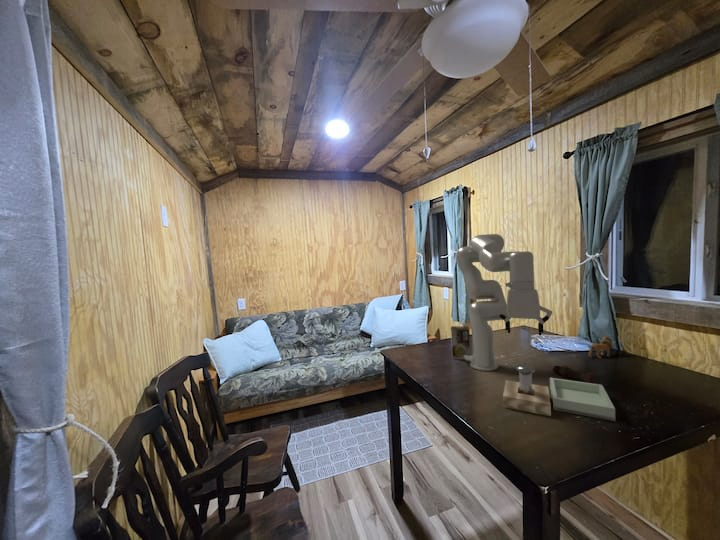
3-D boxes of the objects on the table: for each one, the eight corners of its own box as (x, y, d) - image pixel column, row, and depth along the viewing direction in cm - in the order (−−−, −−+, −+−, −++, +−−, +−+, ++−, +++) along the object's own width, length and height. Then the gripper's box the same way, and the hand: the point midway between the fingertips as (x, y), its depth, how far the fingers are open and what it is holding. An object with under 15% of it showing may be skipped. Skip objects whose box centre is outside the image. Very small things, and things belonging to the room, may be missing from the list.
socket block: (503, 407, 99) (503, 396, 99) (506, 390, 111) (505, 380, 111) (551, 416, 92) (550, 404, 92) (548, 397, 104) (548, 386, 104)
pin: (516, 404, 101) (515, 368, 100) (517, 396, 106) (515, 362, 105) (536, 407, 98) (535, 371, 97) (536, 399, 103) (534, 365, 102)
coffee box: (470, 355, 150) (468, 326, 150) (470, 360, 144) (469, 329, 144) (452, 354, 153) (451, 325, 153) (452, 359, 147) (450, 328, 147)
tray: (553, 409, 96) (553, 398, 96) (550, 387, 111) (549, 377, 111) (615, 421, 88) (615, 408, 87) (602, 395, 103) (602, 384, 103)
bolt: (556, 376, 124) (595, 389, 110) (549, 373, 123) (587, 385, 109) (560, 364, 125) (598, 375, 111) (553, 360, 124) (591, 371, 110)
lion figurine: (603, 352, 144) (602, 334, 144) (615, 355, 139) (615, 337, 139) (585, 357, 139) (584, 339, 139) (597, 360, 134) (597, 342, 134)
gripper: (494, 287, 101) (496, 334, 102) (552, 287, 92) (554, 338, 93) (496, 285, 108) (498, 329, 108) (550, 284, 99) (552, 332, 99)
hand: (524, 333), depth 100 cm, fingers open, 9 cm apart
